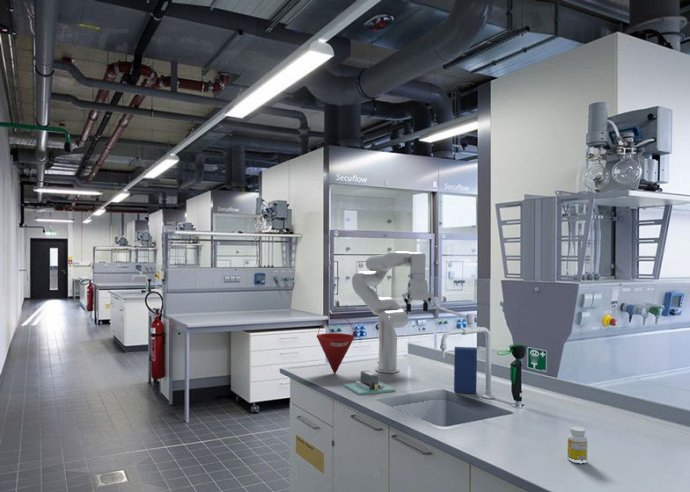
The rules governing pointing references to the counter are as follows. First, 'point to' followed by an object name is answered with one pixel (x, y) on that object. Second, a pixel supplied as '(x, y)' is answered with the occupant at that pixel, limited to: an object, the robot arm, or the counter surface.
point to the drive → (369, 379)
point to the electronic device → (465, 370)
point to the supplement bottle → (577, 444)
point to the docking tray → (364, 389)
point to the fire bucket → (335, 346)
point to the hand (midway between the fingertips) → (417, 311)
